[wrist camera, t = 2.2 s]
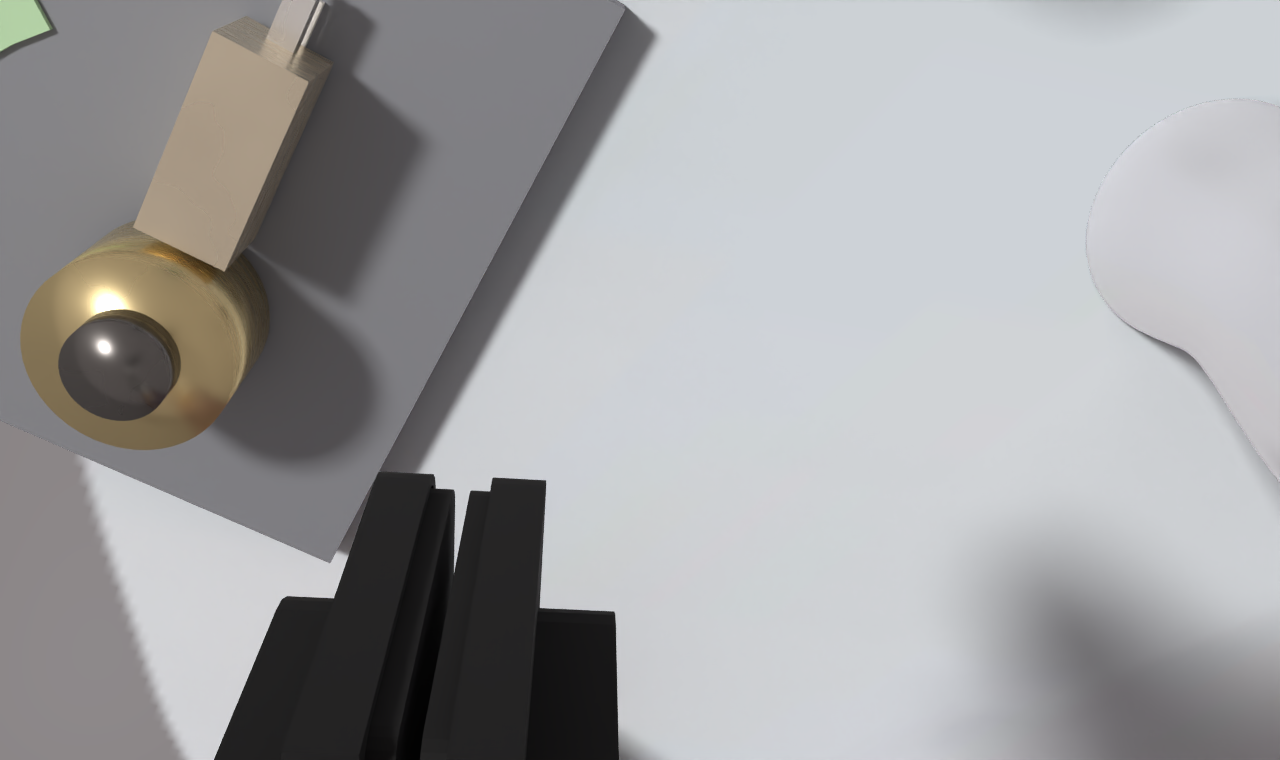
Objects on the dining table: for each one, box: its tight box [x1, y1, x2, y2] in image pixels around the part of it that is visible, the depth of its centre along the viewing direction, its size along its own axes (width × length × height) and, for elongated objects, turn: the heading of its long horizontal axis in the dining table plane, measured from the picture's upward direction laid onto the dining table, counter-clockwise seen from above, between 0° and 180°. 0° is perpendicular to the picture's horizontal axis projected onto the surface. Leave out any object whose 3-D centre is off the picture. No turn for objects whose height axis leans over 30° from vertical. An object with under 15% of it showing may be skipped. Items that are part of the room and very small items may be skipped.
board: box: [0, 0, 625, 563], centre depth 27 cm, size 16×18×1 cm
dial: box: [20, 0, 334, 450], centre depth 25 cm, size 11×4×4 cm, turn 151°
